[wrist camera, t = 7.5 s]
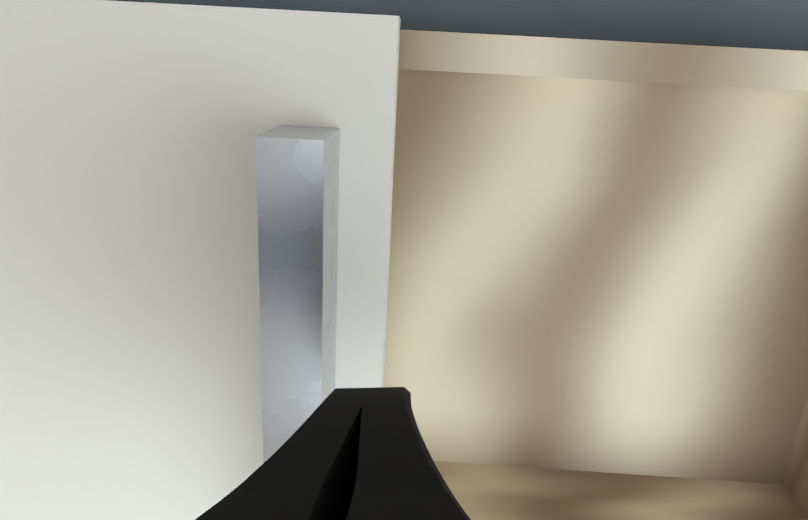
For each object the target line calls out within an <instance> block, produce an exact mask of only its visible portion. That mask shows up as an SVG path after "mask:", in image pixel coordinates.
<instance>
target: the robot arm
mask: <svg viewBox="0 0 808 520" xmlns="http://www.w3.org/2000/svg"><path fill="white" fill-rule="evenodd" d="M195 520H471V519H470V518H469V517H468V515H467V514H466V512H465V511H464V510H463V508H462V507H461V506H460V504H459V503H458V501H457V500H456V498H455V497H454V495H453V494H452V492H451V490H450V489H449V487H448V486H447V484H446V482H445V481H444V479H443V477H442V475H441V474H440V472H439V470H438V469H437V467H436V465H435V463H434V461H433V459H432V457H431V455H430V453H429V451H428V449H427V447H426V445H425V443H424V440H423V438H422V436H421V434H420V431H419V429H418V426H417V423H416V420H415V418H414V415H413V411H412V407H411V393H410V392H409V391H408V390H407V389H406V388H405V387H377V388H335V389H334V391H333V392H332V393H331V394H330V395H329V396H328V397H327V398H326V399H325V400H324V401H323V402H322V403H321V404H320V405H319V406H318V408H317V409H316V410H315V411H314V412H313V413H312V414H311V415H310V416H309V417H308V419H307V420H306V421H305V422H304V423H303V424H302V425H301V426H300V427H299V428H298V429H297V430H296V431H295V432H294V434H293V435H292V436H291V437H290V438H289V439H288V440H287V441H286V442H285V443H284V444H283V445H282V446H281V447H280V448H279V449H278V450H277V451H276V452H275V453H274V454H273V455H272V456H271V457H270V458H269V459H268V460H267V461H265V462H264V463H263V464H262V465H261V466H260V467H259V468H258V469H257V470H256V471H255V472H253V473H252V474H251V475H250V476H249V477H248V478H247V479H246V480H245V481H244V482H242V483H241V484H240V485H239V486H238V487H237V488H235V489H234V490H233V491H232V492H230V493H229V494H228V495H227V496H225V497H224V498H223V499H222V500H220V501H219V502H218V503H216V504H215V505H214V506H212V507H211V508H210V509H208V510H207V511H206V512H204V513H203V514H202V515H200V516H199V517H198V518H196V519H195Z"/></svg>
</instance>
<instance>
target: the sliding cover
mask: <svg viewBox="0 0 808 520" xmlns="http://www.w3.org/2000/svg"><path fill="white" fill-rule="evenodd" d="M400 20H401V18H400V17H399V16H393V15H374V14H355V13H336V12H317V11H299V10H280V9H261V8H242V7H223V6H204V5H185V4H166V3H147V2H128V1H109V0H0V520H195V519H196V518H198V517H199V516H200V515H202V514H203V513H204V512H206V511H207V510H208V509H210V508H211V507H212V506H214V505H215V504H216V503H218V502H219V501H220V500H222V499H223V498H224V497H225V496H227V495H228V494H229V493H230V492H232V491H233V490H234V489H235V488H237V487H238V486H239V485H240V484H241V483H242V482H244V481H245V480H246V479H247V478H248V477H249V476H250V475H251V474H252V473H253V472H255V471H256V470H257V469H258V468H259V467H260V466H261V465H262V464H263V463H264V462H265V461H267V460H268V459H269V458H270V457H271V456H272V455H273V454H274V453H275V452H276V451H277V450H278V449H279V448H280V447H281V446H282V445H283V444H284V443H285V442H286V441H287V440H288V439H289V438H290V437H291V436H292V435H293V434H294V432H295V431H296V430H297V429H298V428H299V427H300V426H301V425H302V424H303V423H304V422H305V421H306V420H307V419H308V417H309V416H310V415H311V414H312V413H313V412H314V411H315V410H316V409H317V408H318V406H319V405H320V404H321V403H322V402H323V401H324V400H325V399H326V398H327V397H328V396H329V395H330V394H331V393H332V392H333V391H334V389H335V388H377V387H384V365H385V343H386V322H387V300H388V279H389V257H390V236H391V214H392V192H393V171H394V149H395V128H396V106H397V85H398V63H399V41H400Z"/></svg>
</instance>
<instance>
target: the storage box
mask: <svg viewBox="0 0 808 520" xmlns="http://www.w3.org/2000/svg"><path fill="white" fill-rule="evenodd" d="M384 387H405V388H406V389H407V390H408V391H409V392H410V393H411V407H412V411H413V415H414V418H415V420H416V423H417V426H418V429H419V431H420V434H421V436H422V438H423V440H424V443H425V445H426V447H427V449H428V451H429V453H430V455H431V457H432V459H433V461H434V463H435V465H436V467H437V469H438V470H439V472H440V474H441V475H442V477H443V479H444V481H445V482H446V484H447V486H448V487H449V489H450V490H451V492H452V494H453V495H454V497H455V498H456V500H457V501H458V503H459V504H460V506H461V507H462V508H463V510H464V511H465V512H466V514H467V515H468V517H469V518H470V519H471V520H808V51H795V50H776V49H757V48H738V47H719V46H701V45H682V44H663V43H644V42H626V41H607V40H588V39H569V38H551V37H532V36H513V35H494V34H475V33H457V32H438V31H419V30H400V41H399V63H398V85H397V106H396V128H395V149H394V171H393V192H392V214H391V236H390V257H389V279H388V300H387V322H386V343H385V365H384Z"/></svg>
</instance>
